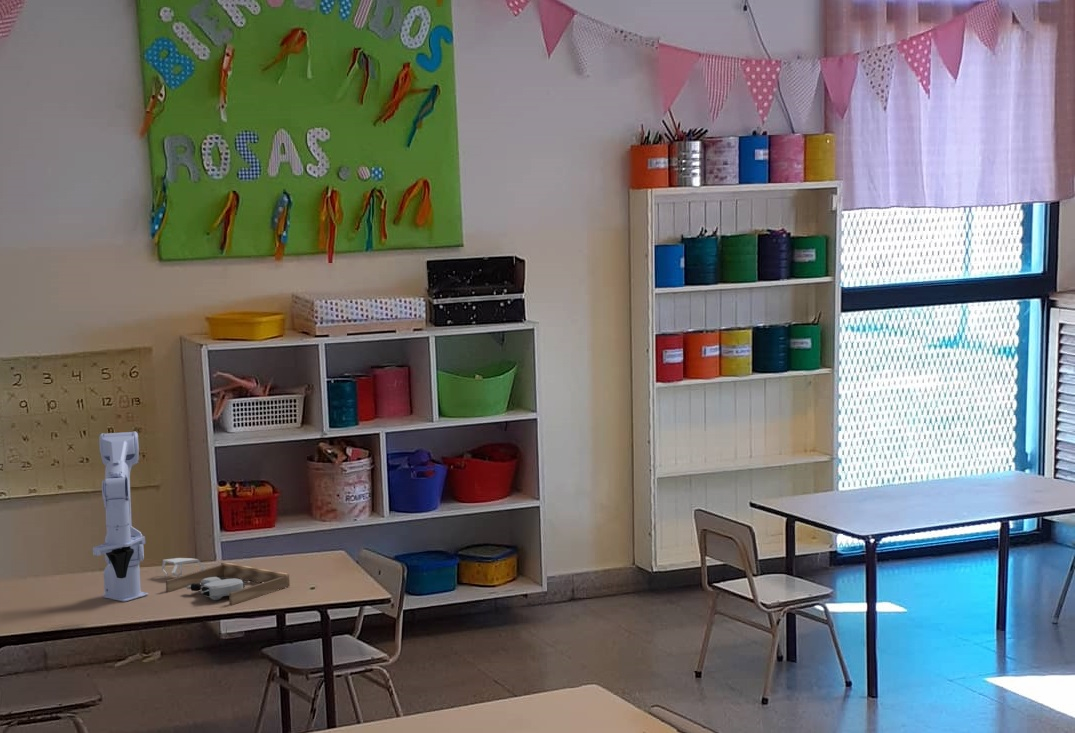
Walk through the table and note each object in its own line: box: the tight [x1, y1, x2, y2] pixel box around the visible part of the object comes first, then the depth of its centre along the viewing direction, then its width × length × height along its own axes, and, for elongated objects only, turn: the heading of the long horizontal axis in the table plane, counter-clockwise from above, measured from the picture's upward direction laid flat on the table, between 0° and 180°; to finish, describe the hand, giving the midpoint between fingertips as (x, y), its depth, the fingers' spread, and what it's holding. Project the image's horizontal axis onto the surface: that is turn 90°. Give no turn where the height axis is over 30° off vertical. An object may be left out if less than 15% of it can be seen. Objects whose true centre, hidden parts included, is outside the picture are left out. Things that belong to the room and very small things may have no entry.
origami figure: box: [161, 557, 206, 578], centre depth 386 cm, size 12×8×5 cm
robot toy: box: [186, 576, 251, 601], centre depth 366 cm, size 12×4×15 cm
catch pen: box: [165, 561, 291, 606], centre depth 372 cm, size 26×20×4 cm
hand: (121, 577), depth 348 cm, fingers closed
